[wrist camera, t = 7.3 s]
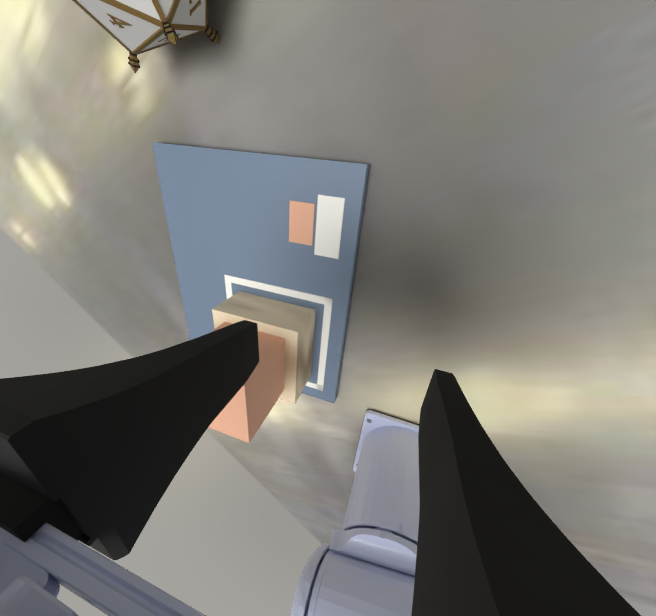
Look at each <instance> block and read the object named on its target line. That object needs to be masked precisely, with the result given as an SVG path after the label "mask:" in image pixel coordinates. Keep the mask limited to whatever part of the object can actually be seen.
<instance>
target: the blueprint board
mask: <svg viewBox="0 0 656 616" xmlns="http://www.w3.org/2000/svg"><path fill="white" fill-rule="evenodd" d="M152 146H153V151H154V156H155V161H156V167H157V172H158V177H159V182H160V187H161V192H162V198H163V203H164V208H165V213H166V218H167V223H168V229H169V234H170V239H171V244H172V249H173V254H174V260H175V265H176V270H177V275H178V280H179V285H180V291H181V296H182V301H183V306H184V311H185V316H186V322H187V327H188V332H189V337H190V340H192V339H195V338H198V337H200V336H203V335H205V334H208V333H210V332H212V331H213V330H214V329H215V328H214V321H213V313H212V309H213V308H214V307H216V306H218V305H219V304H221V303H222V302H224V301H225V300H227V299H228V298H230V297H231V296H233V295H234V294H236V293H238V292H239V291H241V292H245V293H249V294H253V295H257V296H261V297H265V298H269V299H274V300H278V301H282V302H286V303H290V304H294V305H298V306H302V307H307V308H311V309H315V310H316V314H315V327H314V341H313V354H312V368H311V377H310V378H309V380H308V382H307V384H306V385H305V387H304V389H303V391H302V392H301V393H304V394H307V395H310V396H313V397H316V398H319V399H322V400H325V401H328V402H331V403H334V402H335V400H336V397H337V391H338V384H339V376H340V369H341V362H342V355H343V348H344V341H345V334H346V327H347V320H348V313H349V306H350V299H351V292H352V285H353V278H354V271H355V264H356V257H357V250H358V243H359V236H360V229H361V222H362V215H363V208H364V201H365V194H366V187H367V180H368V173H369V166H370V164H361V163H351V162H341V161H331V160H321V159H312V158H302V157H292V156H282V155H272V154H263V153H253V152H243V151H233V150H223V149H214V148H204V147H194V146H184V145H174V144H165V143H154V142H152Z"/></svg>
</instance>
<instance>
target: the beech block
mask: <svg viewBox="0 0 656 616" xmlns="http://www.w3.org/2000/svg"><path fill="white" fill-rule="evenodd" d="M212 313H213V321H214V328H215V329H216V328H217V327H218V326H220V325H221V324H222V323H224V322H228V323H231V324H234V323H237V322H240V321H243V320H247V321H251V322H255V323H257V327H258V331H260V332H264V333H267V334H271V335H274V336H278V337H281V338H285V368H284V391H283V392H282V394H281V395H280V397H279V398H280V399H283V400H285V401H288V402H291V403H294V404H295V403H296V401H297V399H298V398H299V396H300V394H301V392H302V391H303V389H304V387H305V385H306V384H307V382H308V380H309V378H310V377H311V368H312V354H313V341H314V327H315V314H316V310H315V309H311V308H307V307H302V306H298V305H294V304H290V303H286V302H282V301H278V300H274V299H269V298H265V297H261V296H257V295H253V294H249V293H245V292H241V291H239V292H238V293H236V294H234V295H233V296H231V297H230V298H228V299H227V300H225V301H224V302H222V303H221V304H219V305H218V306H216V307H214V308H213V309H212Z"/></svg>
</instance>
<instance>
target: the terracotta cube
mask: <svg viewBox="0 0 656 616" xmlns="http://www.w3.org/2000/svg"><path fill="white" fill-rule="evenodd" d="M228 325H231V323H228V322H224V323H222V324H221V325H220V326H218V327H217V328H216V329H214V330H213V331H216V330H218V329H221V328H223V327H226V326H228ZM213 331H212V332H213ZM210 333H211V332H210ZM258 344H259V363H258V364H257V366H256V368H255V369H254V371H253V373H252V374H251V376H250V377H249V379H248V380H247V381H246V383H245V384H244V385H243V386H242V388H241V389H240V390H239V391H238V392H237V394H236V395H235V396H234V397H233V398H232V399H231V401H230V402H229V403H228V404H227V405H226V406H225V408H224V409H223V410H222V411H221V412H220V414H219V415H218V416H217V417H216V418H215V419H214V421H213V422H212V423H211V424H210V426H209V427H210V428H212V429H215V430H218V431H220V432H223V433H225V434H228V435H230V436H233V437H235V438H238V439H240V440H243V441H245V442H248V443H249V442H250V441H251V439H252V438H253V436H254V435H255V433H256V432H257V430H258V429H259V427H260V426H261V424H262V423H263V421H264V420H265V418H266V416H267V415H268V413H269V412H270V410H271V409H272V407H273V406H274V404H275V403H276V401H277V400H278V398H279V397H280V395H281V394H282V392H283V391H284V368H285V338H281V337H278V336H274V335H271V334H267V333H264V332H260V331H258Z"/></svg>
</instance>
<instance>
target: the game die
mask: <svg viewBox="0 0 656 616" xmlns="http://www.w3.org/2000/svg"><path fill="white" fill-rule="evenodd" d="M73 1H74V2H75V3H76V4H77V5H78V6H79V7H80V8H82V9H83V10H84V11H85V12H86V13H87V14H88V15H89V16H90V17H91V18H93V19H94V20H95V21H96V22H97V23H98V24H99V25H100V26H101V27H103V28H104V29H105V30H106V31H107V32H108V33H109V34H110V35H111V36H113V37H114V38H115V39H116V40H117V41H118V42H119V43H120V44H121V45H122V46H124V47H125V48H126V49H127V50H128V51H129V53H130V55H129V57H128V59H129V62H128V64H130V66H131V67H132V69H133V70H134V72H135V73H136V72H137V70H138V69H139V68H140V65H139V59H138V58H137V55H138V54H140V53H143V52H146V51H149V50H152V49H155V48H158V47H160V46H163V45H166V44H169V43H174V44H175V45H176V43H177V41H178V40H180V39H183V38H186V37H189V36H192V35H195V34H197V33H200V32H203V31H205V32H206V33H207V36H208V37H209V38H211V40H212V42H213V41H215V42H218V43H220V42H219V39H218V36H217V31H216V32H215V31H214V30H213V27H212V28H211V27H209V26H208V24H207V0H73Z"/></svg>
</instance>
